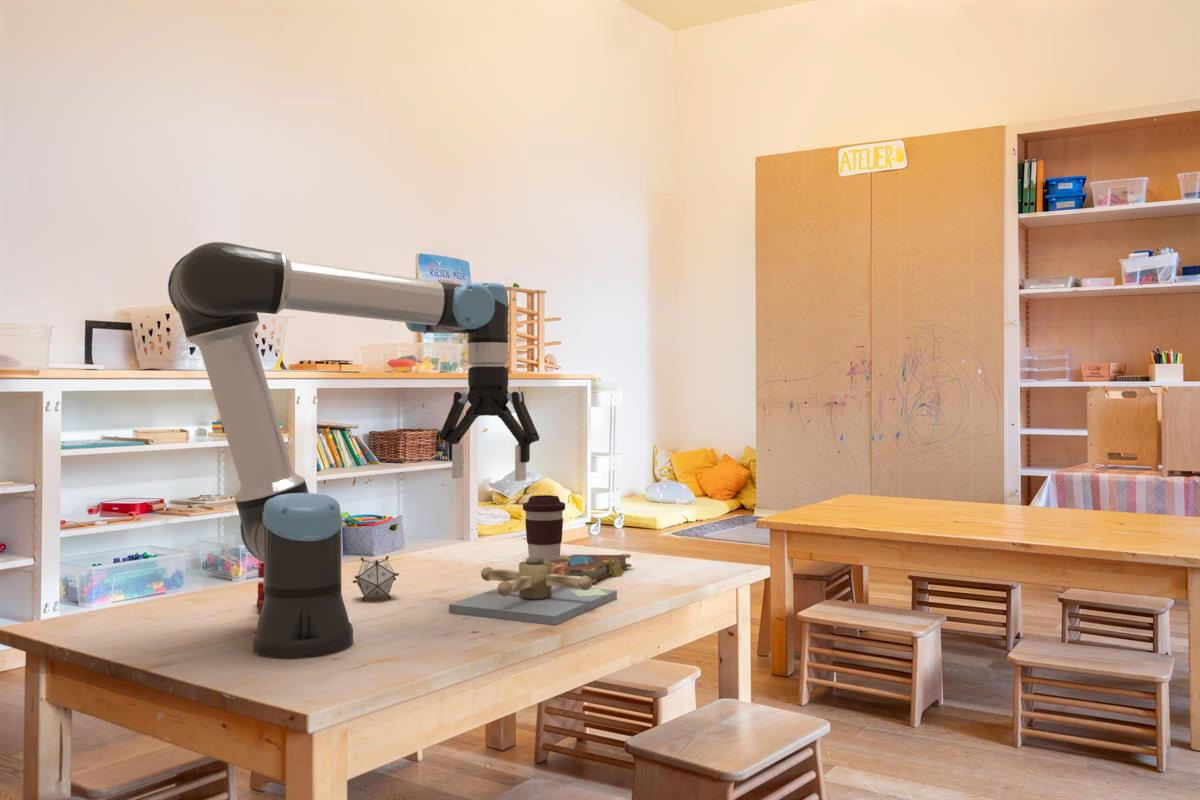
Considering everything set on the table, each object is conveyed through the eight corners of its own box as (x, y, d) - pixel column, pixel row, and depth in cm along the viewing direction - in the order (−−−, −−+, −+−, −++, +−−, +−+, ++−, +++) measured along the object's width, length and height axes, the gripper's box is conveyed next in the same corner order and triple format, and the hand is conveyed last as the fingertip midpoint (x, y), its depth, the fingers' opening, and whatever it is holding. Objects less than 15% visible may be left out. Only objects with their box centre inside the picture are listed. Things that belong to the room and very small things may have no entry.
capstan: (559, 614, 168) (559, 574, 168) (445, 602, 179) (445, 564, 179) (620, 589, 189) (619, 553, 189) (514, 579, 200) (514, 545, 200)
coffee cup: (569, 562, 229) (568, 498, 229) (526, 564, 227) (526, 499, 227) (561, 555, 239) (560, 493, 239) (520, 557, 237) (519, 495, 236)
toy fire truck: (275, 602, 188) (274, 552, 188) (278, 618, 175) (278, 563, 175) (256, 604, 187) (256, 553, 187) (258, 620, 174) (258, 565, 174)
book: (519, 590, 205) (518, 565, 205) (572, 569, 227) (571, 548, 227) (590, 592, 198) (589, 567, 198) (638, 571, 220) (637, 548, 220)
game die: (381, 619, 190) (384, 583, 184) (342, 602, 191) (344, 566, 185) (404, 589, 197) (408, 553, 191) (367, 572, 198) (370, 537, 192)
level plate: (557, 625, 168) (556, 610, 168) (448, 612, 178) (448, 598, 178) (618, 598, 190) (618, 584, 190) (518, 588, 200) (518, 575, 200)
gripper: (556, 365, 184) (557, 479, 185) (442, 367, 194) (443, 475, 195) (538, 364, 177) (538, 483, 178) (421, 366, 188) (421, 478, 188)
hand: (488, 479), depth 186 cm, fingers open, 13 cm apart
